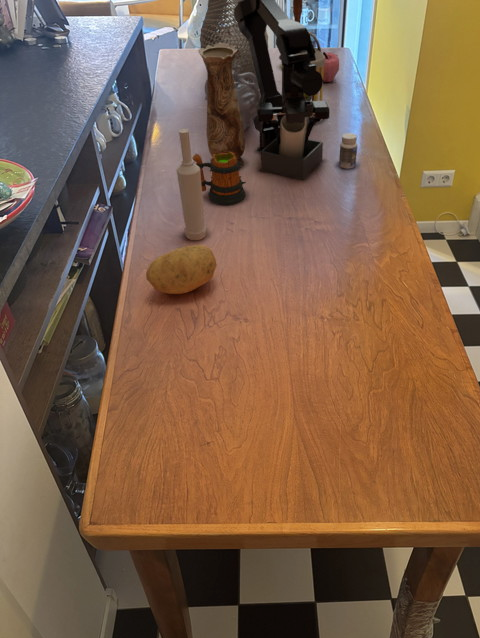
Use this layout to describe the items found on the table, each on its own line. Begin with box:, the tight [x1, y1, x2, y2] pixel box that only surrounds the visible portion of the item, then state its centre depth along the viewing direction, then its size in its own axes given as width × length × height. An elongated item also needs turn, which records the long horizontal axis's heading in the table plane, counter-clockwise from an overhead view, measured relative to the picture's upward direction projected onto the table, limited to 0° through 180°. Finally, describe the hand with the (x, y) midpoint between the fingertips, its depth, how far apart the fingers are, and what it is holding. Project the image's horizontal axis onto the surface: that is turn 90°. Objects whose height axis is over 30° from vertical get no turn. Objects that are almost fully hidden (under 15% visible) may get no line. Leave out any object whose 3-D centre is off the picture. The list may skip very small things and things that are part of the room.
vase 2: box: [197, 43, 246, 169], centre depth 160 cm, size 10×11×30 cm
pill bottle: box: [338, 132, 358, 169], centre depth 167 cm, size 5×5×8 cm
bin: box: [259, 138, 324, 181], centre depth 168 cm, size 13×13×6 cm
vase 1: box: [199, 0, 269, 94], centre depth 196 cm, size 22×22×35 cm
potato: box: [145, 244, 218, 295], centre depth 126 cm, size 10×14×10 cm
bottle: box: [176, 128, 207, 241], centre depth 135 cm, size 5×5×25 cm
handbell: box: [280, 0, 303, 70], centre depth 221 cm, size 12×12×25 cm
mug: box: [191, 151, 247, 206], centre depth 153 cm, size 13×10×12 cm
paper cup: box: [279, 115, 307, 159], centre depth 164 cm, size 7×7×12 cm
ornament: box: [204, 65, 261, 131], centre depth 182 cm, size 18×20×20 cm
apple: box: [319, 51, 340, 83], centre depth 215 cm, size 10×9×10 cm
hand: (292, 143), depth 164 cm, fingers closed on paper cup, 7 cm apart
